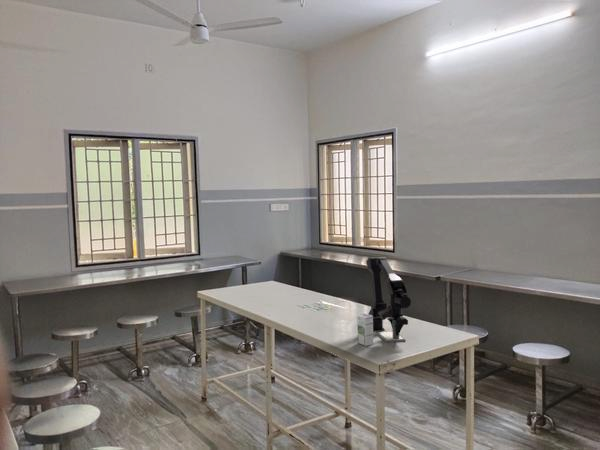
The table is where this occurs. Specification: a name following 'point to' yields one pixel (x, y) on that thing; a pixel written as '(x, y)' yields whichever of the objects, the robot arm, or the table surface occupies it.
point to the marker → (394, 331)
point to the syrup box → (365, 329)
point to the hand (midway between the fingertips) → (395, 334)
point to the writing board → (389, 337)
